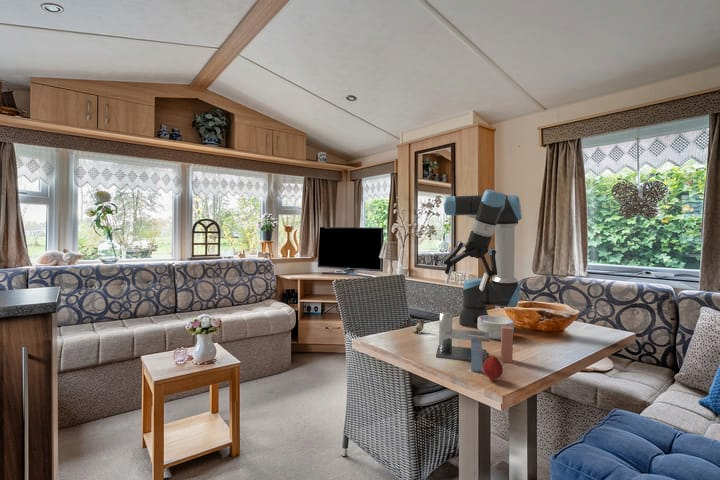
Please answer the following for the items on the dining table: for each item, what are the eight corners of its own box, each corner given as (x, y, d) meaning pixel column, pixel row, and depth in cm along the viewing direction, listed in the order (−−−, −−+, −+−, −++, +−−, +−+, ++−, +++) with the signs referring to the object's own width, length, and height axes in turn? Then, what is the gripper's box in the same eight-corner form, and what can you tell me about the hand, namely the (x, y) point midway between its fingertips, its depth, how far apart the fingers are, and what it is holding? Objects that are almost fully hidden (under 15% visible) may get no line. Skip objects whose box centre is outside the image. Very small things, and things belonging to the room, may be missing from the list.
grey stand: (487, 352, 136) (488, 313, 136) (491, 373, 115) (492, 327, 115) (438, 347, 141) (439, 309, 141) (433, 366, 120) (434, 322, 120)
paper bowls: (517, 342, 149) (518, 324, 149) (480, 340, 151) (480, 322, 151) (508, 332, 164) (508, 315, 164) (474, 331, 167) (475, 314, 166)
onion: (486, 374, 114) (487, 350, 114) (504, 379, 110) (505, 354, 110) (479, 380, 109) (480, 354, 109) (498, 385, 106) (499, 359, 105)
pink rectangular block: (511, 359, 128) (511, 326, 128) (512, 362, 125) (512, 329, 125) (500, 358, 129) (501, 325, 129) (501, 361, 126) (502, 328, 126)
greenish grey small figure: (418, 330, 166) (419, 317, 166) (427, 333, 162) (428, 320, 162) (411, 332, 163) (412, 319, 162) (420, 335, 159) (421, 322, 158)
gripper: (450, 228, 122) (433, 282, 129) (519, 243, 123) (498, 297, 130) (445, 222, 129) (429, 274, 136) (511, 237, 130) (492, 288, 137)
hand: (463, 285), depth 133 cm, fingers open, 13 cm apart
